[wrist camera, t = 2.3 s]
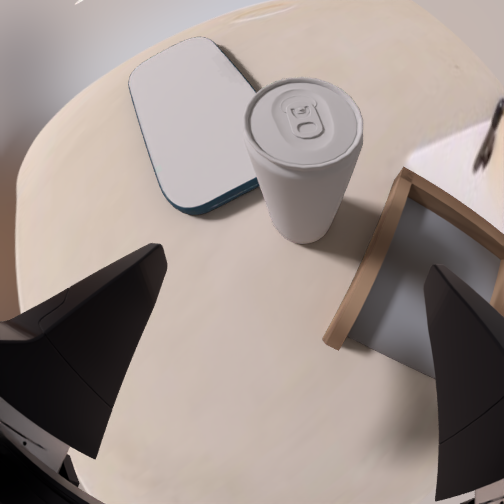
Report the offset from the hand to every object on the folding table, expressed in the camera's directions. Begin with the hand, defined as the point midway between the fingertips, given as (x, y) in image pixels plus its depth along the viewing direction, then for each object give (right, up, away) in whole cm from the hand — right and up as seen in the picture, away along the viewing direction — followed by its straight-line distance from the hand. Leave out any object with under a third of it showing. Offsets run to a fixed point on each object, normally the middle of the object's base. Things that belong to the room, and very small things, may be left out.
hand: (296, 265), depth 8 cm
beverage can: (+3, +3, +13) cm, 13 cm away
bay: (+13, -3, +9) cm, 16 cm away
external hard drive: (-7, +15, +17) cm, 24 cm away
